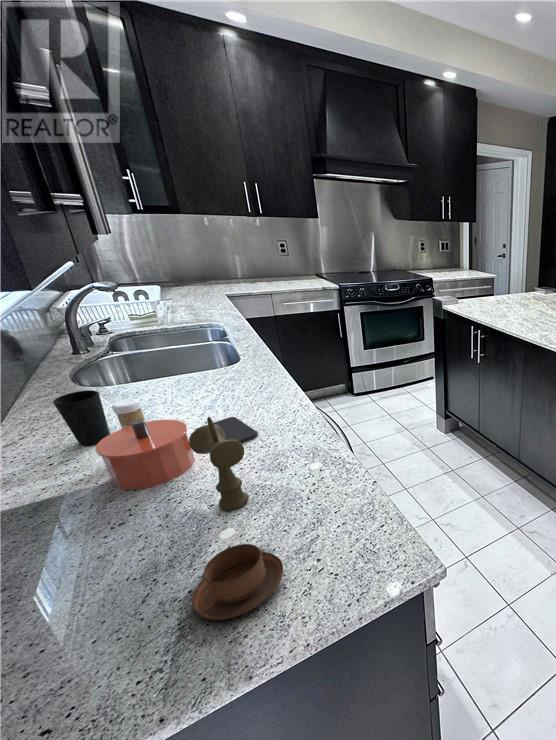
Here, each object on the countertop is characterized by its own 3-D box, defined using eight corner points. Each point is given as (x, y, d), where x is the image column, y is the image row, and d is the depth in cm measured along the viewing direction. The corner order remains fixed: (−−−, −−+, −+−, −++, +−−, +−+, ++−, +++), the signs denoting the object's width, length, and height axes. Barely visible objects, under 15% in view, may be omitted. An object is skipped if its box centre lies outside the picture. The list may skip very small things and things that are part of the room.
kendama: (239, 486, 87) (215, 403, 78) (262, 505, 82) (238, 418, 74) (207, 501, 82) (178, 415, 74) (229, 522, 77) (200, 432, 69)
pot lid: (193, 442, 85) (187, 423, 84) (98, 470, 76) (89, 449, 74) (181, 417, 95) (175, 399, 93) (95, 439, 85) (87, 420, 83)
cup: (107, 429, 105) (89, 387, 100) (122, 437, 102) (105, 394, 97) (67, 443, 99) (46, 399, 94) (82, 451, 96) (61, 407, 91)
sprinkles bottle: (144, 446, 99) (124, 397, 93) (162, 447, 99) (143, 398, 93) (126, 457, 95) (105, 406, 89) (145, 458, 95) (125, 407, 89)
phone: (233, 415, 112) (259, 432, 105) (234, 418, 113) (260, 435, 105) (202, 426, 107) (227, 444, 99) (203, 428, 107) (228, 447, 99)
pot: (202, 476, 89) (189, 440, 85) (119, 504, 80) (101, 465, 76) (190, 451, 98) (178, 416, 94) (114, 473, 89) (98, 436, 85)
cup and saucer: (263, 624, 59) (254, 595, 56) (176, 629, 58) (162, 599, 55) (297, 559, 70) (290, 531, 67) (224, 561, 69) (214, 534, 66)
